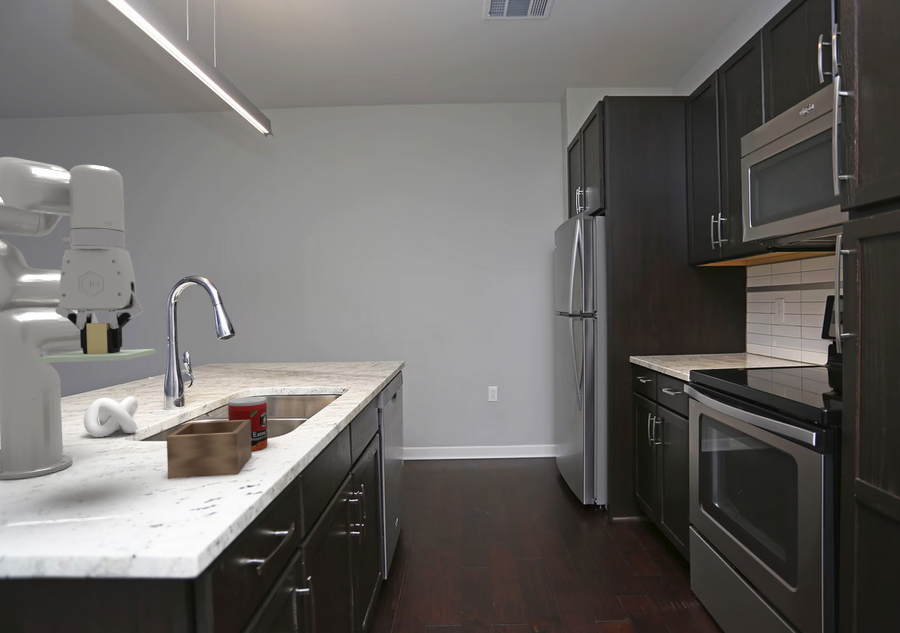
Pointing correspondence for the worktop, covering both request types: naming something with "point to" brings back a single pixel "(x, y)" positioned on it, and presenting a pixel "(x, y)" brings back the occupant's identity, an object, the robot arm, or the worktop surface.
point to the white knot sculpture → (110, 416)
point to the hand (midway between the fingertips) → (101, 351)
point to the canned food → (251, 418)
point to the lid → (97, 348)
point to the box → (209, 449)
